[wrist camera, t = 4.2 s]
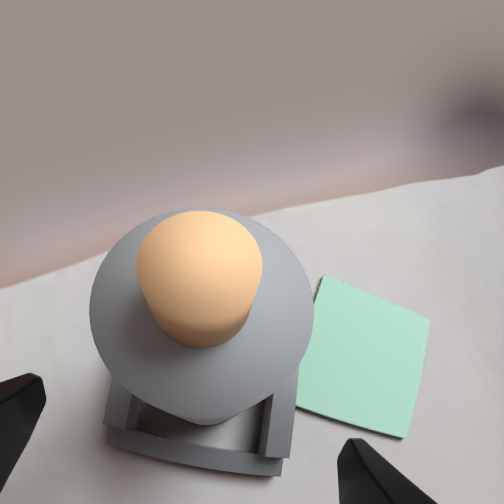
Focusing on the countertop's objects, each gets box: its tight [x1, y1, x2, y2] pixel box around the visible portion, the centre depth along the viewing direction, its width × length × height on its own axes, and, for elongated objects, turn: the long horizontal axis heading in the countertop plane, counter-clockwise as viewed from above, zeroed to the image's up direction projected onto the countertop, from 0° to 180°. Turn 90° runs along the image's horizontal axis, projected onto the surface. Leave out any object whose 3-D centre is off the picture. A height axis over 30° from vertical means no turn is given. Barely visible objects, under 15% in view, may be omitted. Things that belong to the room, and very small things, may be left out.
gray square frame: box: [103, 364, 300, 477], centre depth 16 cm, size 9×9×2 cm
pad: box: [296, 274, 430, 438], centre depth 19 cm, size 9×9×1 cm
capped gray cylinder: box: [89, 208, 314, 425], centre depth 11 cm, size 5×5×14 cm
